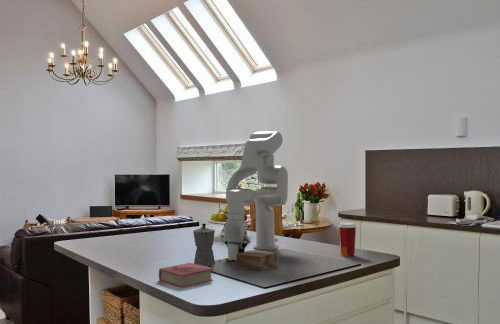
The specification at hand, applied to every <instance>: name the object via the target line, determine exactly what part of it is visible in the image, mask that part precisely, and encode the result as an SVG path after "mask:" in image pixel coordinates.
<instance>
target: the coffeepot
mask: <svg viewBox="0 0 500 324" xmlns="http://www.w3.org/2000/svg"><path fill="white" fill-rule="evenodd" d="M206 224H207V223H202V224H201V227H200V228H197V229H194V230H193V238H194V243H195V244H194V245H195V247H196V250H195V255H194V260H193V263H194V264H198V265H202V266H212V265H214V264H215V265H216V260H215V254H214V251H213V245H214V240H215V232H216V230H215V229H212V228H209V227H206V226H207V225H206ZM215 265H214V266H215ZM212 267H213V266H212Z"/></svg>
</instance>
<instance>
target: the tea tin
mask: <svg viewBox="0 0 500 324" xmlns="http://www.w3.org/2000/svg"><path fill="white" fill-rule="evenodd" d="M239 249H240V245H239V243H236V242H228V247H227V259H228V261H232V260H235V261H234V262H237V254H238V253H239Z"/></svg>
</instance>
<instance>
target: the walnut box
mask: <svg viewBox="0 0 500 324" xmlns="http://www.w3.org/2000/svg"><path fill="white" fill-rule="evenodd" d="M237 267H239V268H238V269H242V268H244V270H248V269H249V270H250V271H254V272H262V271H265V270H269V269H271V268H275V267H277V252H273V251H267V250H261V249H252V250H247V251H245V252H243V253H238V254H237V261H236V268H237ZM249 270H248V271H249Z"/></svg>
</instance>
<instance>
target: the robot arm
mask: <svg viewBox="0 0 500 324" xmlns="http://www.w3.org/2000/svg"><path fill="white" fill-rule="evenodd" d="M283 141H284V139H283V135H282V134H281V132H279V131H274V130H273V131H257V132H252V133H251V134H250V136H249V140H247V141H245V144H244V148H243V152H242V153H243V154H242V157H241V163H240V166H239V168H238V169H237V170H236V171H235V172H234V173H233V174H232V175H231V177H230V178H229V179H228V182H227V186H226V192H225V200H226V202H227V213H225V216H226V217H227V219H226V220H225V225H224V235H223V237H222V241H223V242H224V244H225V246H226V247H227V248H228V242H236V243H239V245H240V249H239V253H243V252H246V251H245V250H246V248H247V246H248V245H249V244H250V243H251V242H252V241H251V239H250V237H248V227H247V222H246V219H245V205H252V204H253V203H254V205H255V230H256V231H255V235H256V236H255V237H256V238H255V242H256V243H255V244H253V249H254V250H260V251H267V250H276V249H277V248H278V244H276V243H277V242H278V241H279V239H278V238H277V237H275V212H274V210H273V208H272V206H277V207H278V206H279V207H280V206H284V205H286V203H287V201H288V191H289V188H288V187H289V186H288V185H289V182H288V181H289V176H288V175H289V174H288V170H287V168H286V167H285V166H283V165H275V156H274V154H275V153H276V152H277V151H278V150H279V149H280V148H281V146H282V144H283ZM254 174H257V181H258V182H259V184H263V185H276V186H259V187H256V189H255V190H254V189H251V188H243V187H242V188H239V187H238V185H239V184H240V182H242V180H245V179H246V178H249V177H250V176H252V175H254ZM237 187H238V188H237Z"/></svg>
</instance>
